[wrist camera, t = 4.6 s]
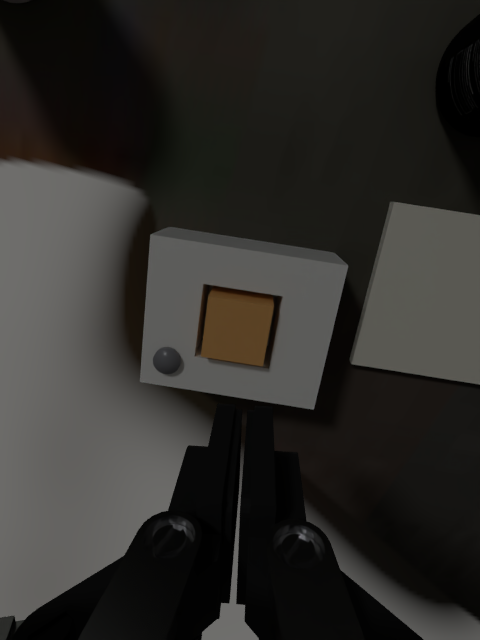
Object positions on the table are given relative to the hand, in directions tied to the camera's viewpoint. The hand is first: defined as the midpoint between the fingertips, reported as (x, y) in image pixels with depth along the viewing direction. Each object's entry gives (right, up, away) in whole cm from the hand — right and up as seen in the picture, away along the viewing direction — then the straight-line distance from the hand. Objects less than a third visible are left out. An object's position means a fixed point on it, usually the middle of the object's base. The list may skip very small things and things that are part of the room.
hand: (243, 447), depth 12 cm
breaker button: (0, +5, +17) cm, 17 cm away
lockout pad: (+15, +5, +17) cm, 23 cm away
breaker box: (0, +5, +18) cm, 19 cm away
